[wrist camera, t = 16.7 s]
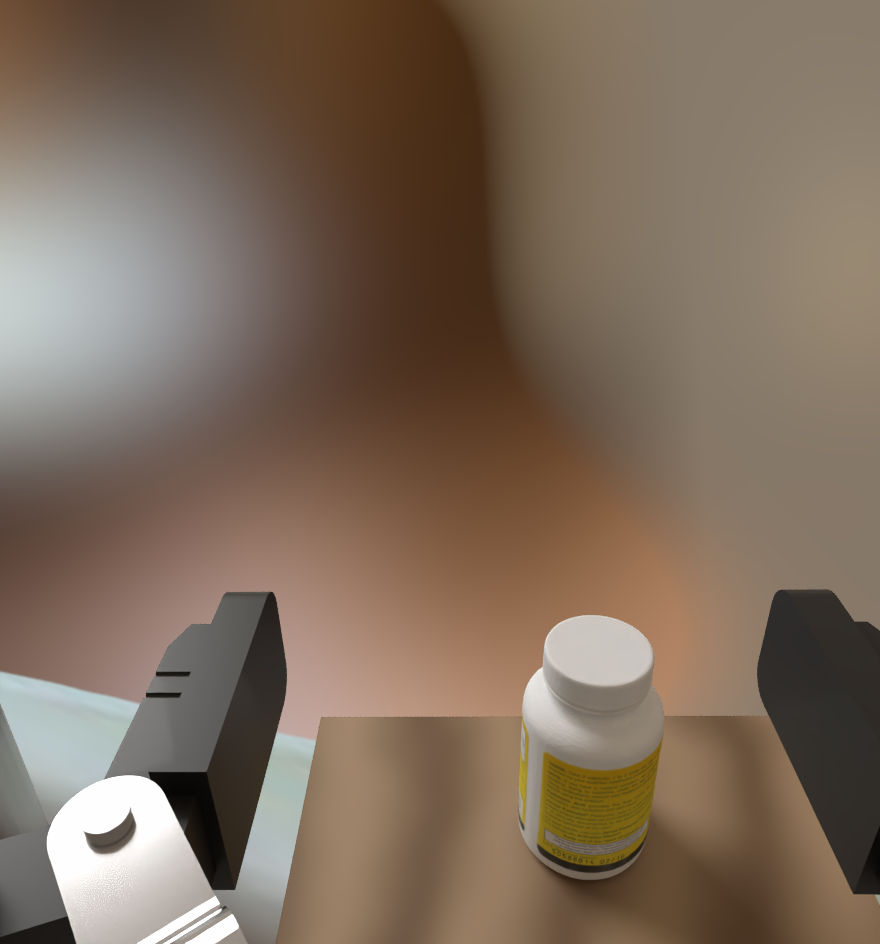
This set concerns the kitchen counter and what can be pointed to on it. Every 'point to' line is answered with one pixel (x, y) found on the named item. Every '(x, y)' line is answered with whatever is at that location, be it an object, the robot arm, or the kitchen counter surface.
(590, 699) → the supplement bottle
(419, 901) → the cubby
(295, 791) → the kitchen counter surface
